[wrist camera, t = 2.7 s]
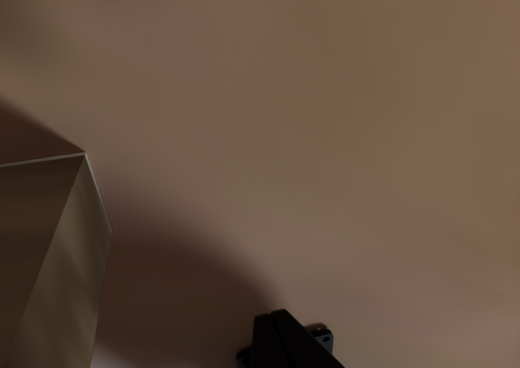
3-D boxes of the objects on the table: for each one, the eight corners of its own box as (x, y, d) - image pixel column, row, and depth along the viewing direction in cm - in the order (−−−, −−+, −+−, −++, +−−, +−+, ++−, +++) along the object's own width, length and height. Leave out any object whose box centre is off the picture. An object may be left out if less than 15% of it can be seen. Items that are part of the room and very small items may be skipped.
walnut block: (112, 230, 16) (73, 469, 8) (17, 248, 16) (-124, 528, 8) (86, 152, 14) (2, 368, 6) (-26, 167, 14) (-278, 437, 6)
